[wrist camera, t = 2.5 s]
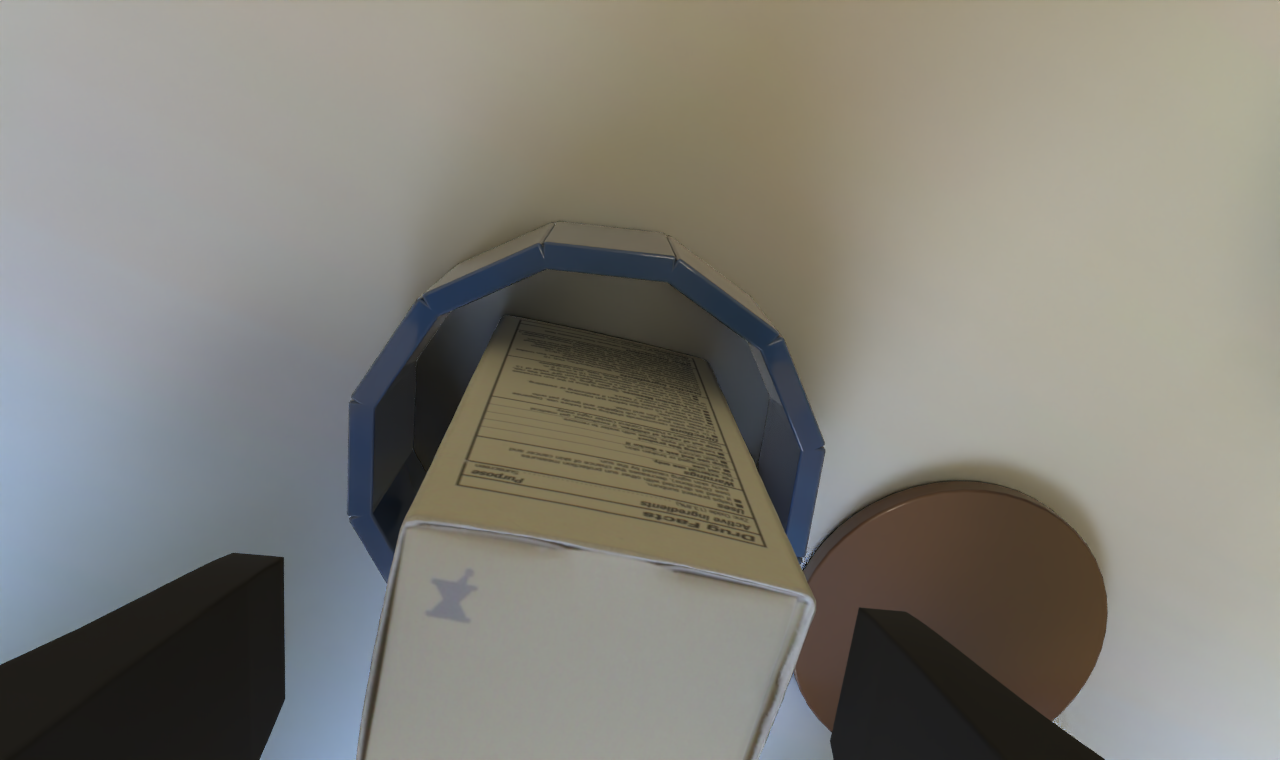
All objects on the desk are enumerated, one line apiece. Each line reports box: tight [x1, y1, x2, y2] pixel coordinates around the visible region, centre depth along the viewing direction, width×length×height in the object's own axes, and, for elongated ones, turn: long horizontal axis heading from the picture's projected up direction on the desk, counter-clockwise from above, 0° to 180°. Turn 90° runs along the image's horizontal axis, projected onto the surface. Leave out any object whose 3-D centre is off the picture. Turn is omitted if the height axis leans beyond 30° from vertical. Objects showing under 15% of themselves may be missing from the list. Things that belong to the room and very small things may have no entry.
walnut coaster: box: [793, 481, 1108, 732], centre depth 21 cm, size 8×8×1 cm
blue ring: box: [347, 221, 825, 583], centre depth 18 cm, size 9×9×4 cm
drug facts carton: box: [356, 316, 816, 760], centre depth 15 cm, size 5×4×10 cm
